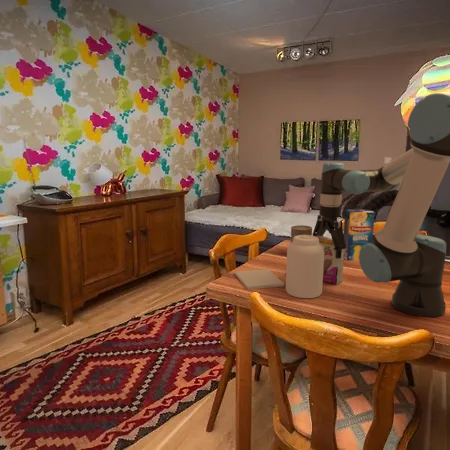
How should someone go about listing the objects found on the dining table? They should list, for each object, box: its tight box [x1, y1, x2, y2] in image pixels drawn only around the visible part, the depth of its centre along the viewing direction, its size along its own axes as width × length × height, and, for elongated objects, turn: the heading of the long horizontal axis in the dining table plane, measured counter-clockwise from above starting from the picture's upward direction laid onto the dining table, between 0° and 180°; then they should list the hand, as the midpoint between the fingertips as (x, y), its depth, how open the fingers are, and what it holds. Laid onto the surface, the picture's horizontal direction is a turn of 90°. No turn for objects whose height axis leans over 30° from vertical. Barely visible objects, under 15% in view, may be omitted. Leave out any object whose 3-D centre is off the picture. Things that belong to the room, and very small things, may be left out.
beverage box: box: [343, 209, 376, 262], centre depth 168 cm, size 7×11×22 cm, turn 91°
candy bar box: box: [316, 235, 345, 286], centre depth 140 cm, size 11×5×16 cm, turn 47°
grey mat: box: [234, 268, 285, 290], centre depth 141 cm, size 17×14×1 cm
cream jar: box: [285, 235, 324, 299], centre depth 127 cm, size 12×12×20 cm
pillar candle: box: [290, 224, 313, 243], centre depth 172 cm, size 10×10×15 cm
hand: (326, 260), depth 140 cm, fingers open, 13 cm apart
